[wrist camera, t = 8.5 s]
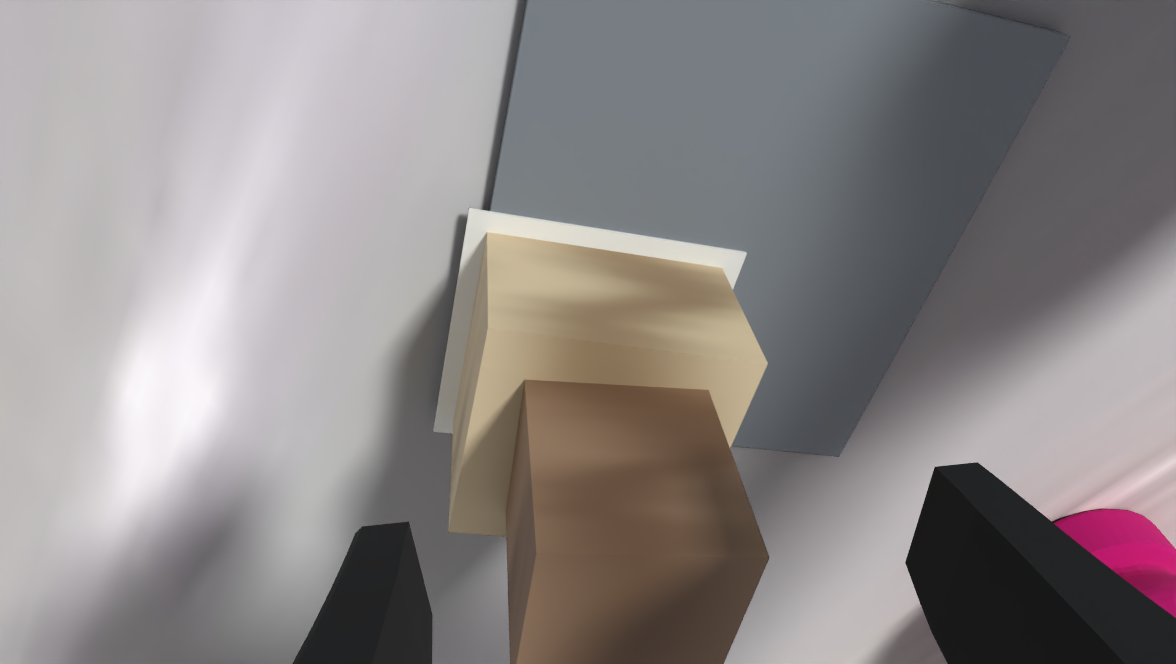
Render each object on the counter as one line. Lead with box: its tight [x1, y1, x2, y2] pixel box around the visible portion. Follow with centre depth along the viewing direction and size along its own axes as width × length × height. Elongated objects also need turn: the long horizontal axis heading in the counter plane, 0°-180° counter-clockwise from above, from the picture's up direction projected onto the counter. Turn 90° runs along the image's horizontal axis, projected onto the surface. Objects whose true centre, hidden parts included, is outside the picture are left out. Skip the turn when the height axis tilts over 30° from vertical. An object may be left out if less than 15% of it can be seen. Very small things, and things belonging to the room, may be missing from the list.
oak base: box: [448, 232, 768, 536], centre depth 20 cm, size 6×6×4 cm
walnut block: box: [506, 380, 769, 664], centre depth 16 cm, size 4×4×4 cm
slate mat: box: [433, 0, 1070, 457], centre depth 20 cm, size 12×14×1 cm
